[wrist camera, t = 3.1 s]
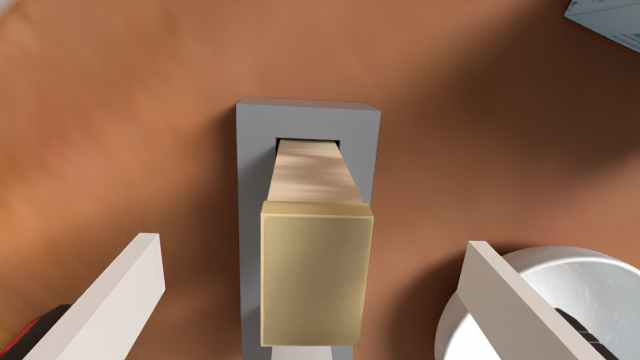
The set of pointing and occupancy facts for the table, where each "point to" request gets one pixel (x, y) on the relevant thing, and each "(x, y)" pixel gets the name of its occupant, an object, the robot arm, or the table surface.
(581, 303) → the serving bowl
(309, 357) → the white plug
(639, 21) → the gum box
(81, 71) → the table surface
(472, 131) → the table surface
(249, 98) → the grey peg board
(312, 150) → the beech plug
